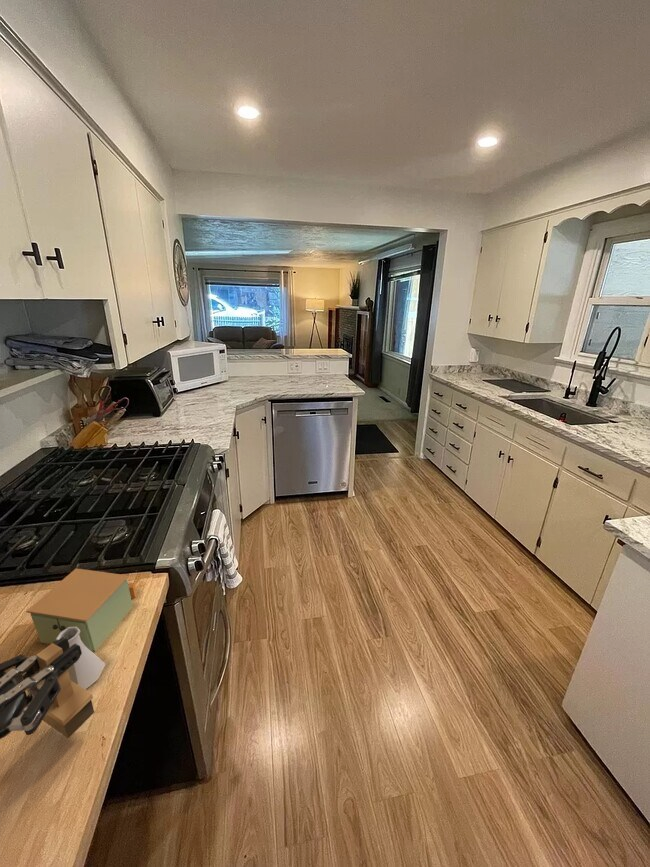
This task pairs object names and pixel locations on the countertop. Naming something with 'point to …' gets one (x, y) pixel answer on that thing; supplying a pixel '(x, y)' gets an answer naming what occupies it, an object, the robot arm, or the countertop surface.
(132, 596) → the block
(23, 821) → the countertop surface
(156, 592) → the countertop surface
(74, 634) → the flask
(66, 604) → the cabinet
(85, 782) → the countertop surface
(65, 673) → the brush
